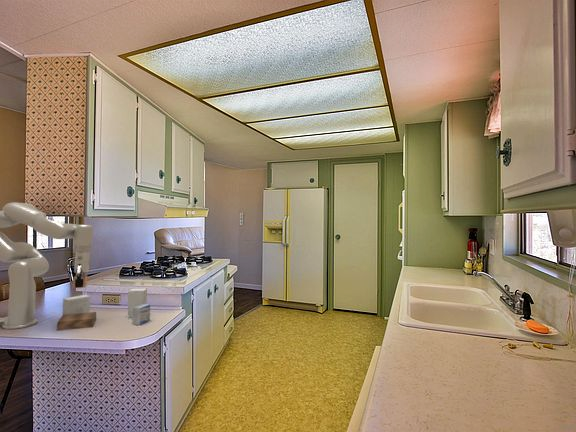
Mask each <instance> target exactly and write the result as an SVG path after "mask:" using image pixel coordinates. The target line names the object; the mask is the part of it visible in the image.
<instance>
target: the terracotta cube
mask: <svg viewBox="0 0 576 432" xmlns="http://www.w3.org/2000/svg"><path fill="white" fill-rule="evenodd" d="M75 279H76V275H75V276H74V277H73V278H72V289H76V288H75ZM87 286H88V275H85V276H83V287H78V288H77V289H81V288H83V289H84V288H86V287H87Z"/></svg>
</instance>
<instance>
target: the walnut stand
mask: <svg viewBox="0 0 576 432" xmlns="http://www.w3.org/2000/svg"><path fill="white" fill-rule="evenodd" d="M96 319H97V311H92V312H89V313H77V314H65V315H62V316H61V317H60V318H59V319H58V320H57V322H56V332H57V331H65V330H67V331H69V330H74V329H75V330H76V329H78V330H79V329H85V328H87V329H88V328H93V327H94V324H95V322H96Z"/></svg>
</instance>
